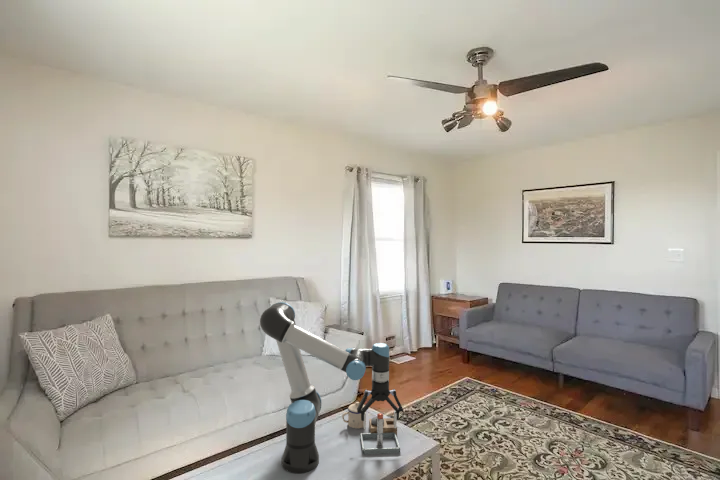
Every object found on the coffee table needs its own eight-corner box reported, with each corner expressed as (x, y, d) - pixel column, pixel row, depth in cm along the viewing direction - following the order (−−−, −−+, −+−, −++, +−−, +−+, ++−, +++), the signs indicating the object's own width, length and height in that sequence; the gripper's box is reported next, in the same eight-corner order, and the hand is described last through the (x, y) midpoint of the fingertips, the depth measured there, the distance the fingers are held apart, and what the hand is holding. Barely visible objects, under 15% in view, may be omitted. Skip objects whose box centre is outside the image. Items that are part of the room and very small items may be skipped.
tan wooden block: (371, 438, 180) (371, 423, 180) (369, 428, 189) (369, 414, 189) (396, 438, 181) (397, 422, 181) (393, 428, 190) (393, 413, 189)
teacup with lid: (363, 420, 197) (363, 397, 197) (368, 429, 188) (368, 405, 188) (340, 423, 194) (340, 400, 194) (344, 432, 185) (344, 408, 185)
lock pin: (377, 447, 172) (377, 416, 171) (376, 444, 174) (376, 413, 174) (383, 447, 172) (383, 416, 171) (382, 444, 174) (382, 413, 174)
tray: (362, 456, 166) (362, 449, 166) (360, 439, 179) (360, 433, 179) (400, 455, 167) (400, 448, 167) (395, 438, 180) (395, 432, 180)
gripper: (352, 383, 167) (352, 432, 168) (410, 382, 169) (409, 430, 170) (351, 376, 175) (351, 423, 176) (406, 375, 177) (406, 422, 178)
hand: (379, 427), depth 173 cm, fingers open, 13 cm apart
